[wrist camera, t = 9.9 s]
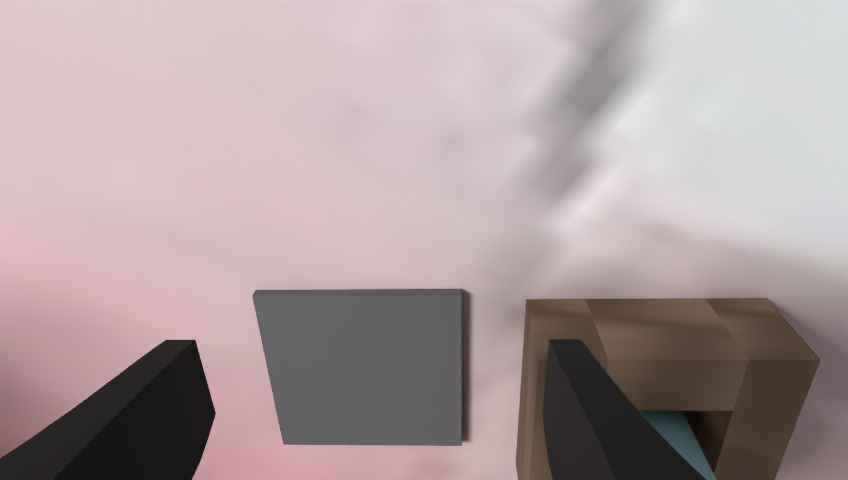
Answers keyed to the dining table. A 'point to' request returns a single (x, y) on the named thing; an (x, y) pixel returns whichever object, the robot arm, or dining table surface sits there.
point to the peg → (680, 437)
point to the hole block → (680, 373)
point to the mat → (364, 365)
